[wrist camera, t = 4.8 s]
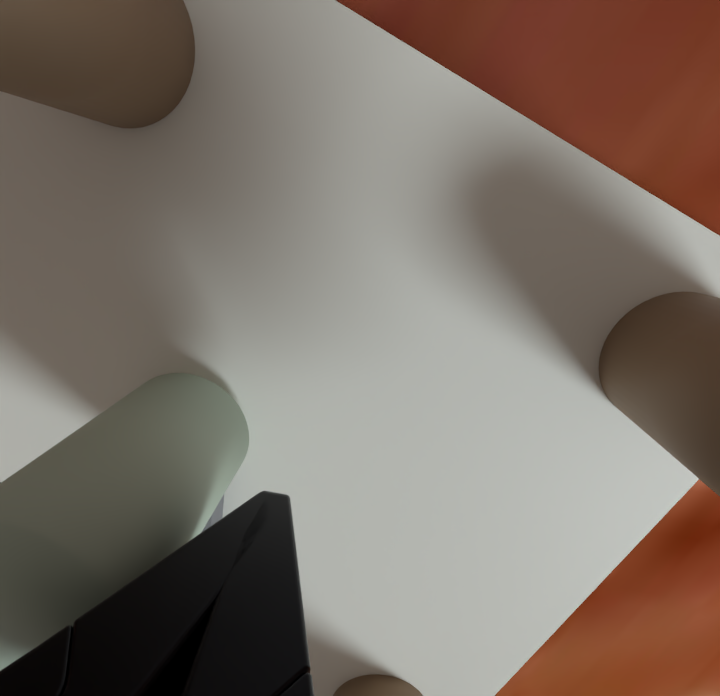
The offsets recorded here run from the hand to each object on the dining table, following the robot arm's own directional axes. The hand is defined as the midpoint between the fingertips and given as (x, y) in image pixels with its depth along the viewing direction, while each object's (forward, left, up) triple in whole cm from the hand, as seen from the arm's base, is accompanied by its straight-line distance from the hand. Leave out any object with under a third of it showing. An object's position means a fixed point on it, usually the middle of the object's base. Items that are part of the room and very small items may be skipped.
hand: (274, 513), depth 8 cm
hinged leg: (+1, +4, -3) cm, 5 cm away
